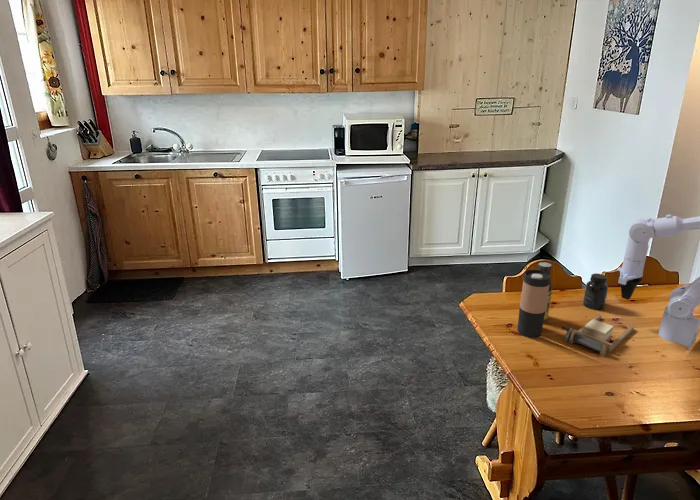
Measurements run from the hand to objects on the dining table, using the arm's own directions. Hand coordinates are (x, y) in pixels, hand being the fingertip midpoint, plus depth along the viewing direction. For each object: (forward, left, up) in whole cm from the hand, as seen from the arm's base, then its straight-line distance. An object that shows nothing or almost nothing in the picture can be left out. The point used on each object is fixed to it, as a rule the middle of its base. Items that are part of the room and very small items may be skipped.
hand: (625, 298), depth 154 cm
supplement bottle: (+11, -6, -10) cm, 16 cm away
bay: (+1, +11, -10) cm, 15 cm away
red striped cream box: (+1, +16, -9) cm, 19 cm away
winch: (+2, +22, -10) cm, 25 cm away
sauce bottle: (+20, +16, -10) cm, 28 cm away
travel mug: (+18, +25, -10) cm, 32 cm away
